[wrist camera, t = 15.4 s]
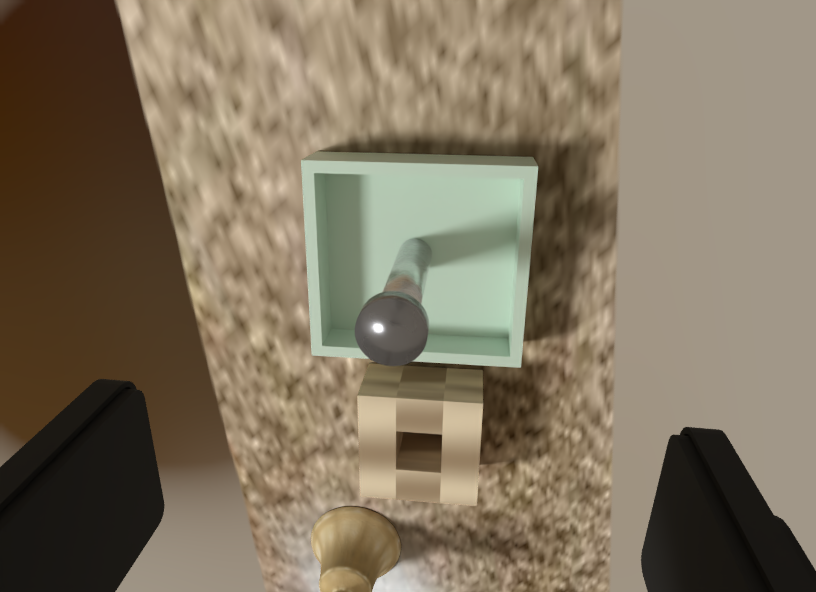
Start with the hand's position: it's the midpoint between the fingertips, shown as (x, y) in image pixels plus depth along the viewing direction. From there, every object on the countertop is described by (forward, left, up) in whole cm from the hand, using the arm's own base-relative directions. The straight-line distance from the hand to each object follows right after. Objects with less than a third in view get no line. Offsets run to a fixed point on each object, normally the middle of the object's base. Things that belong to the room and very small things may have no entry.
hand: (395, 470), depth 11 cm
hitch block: (+20, -2, -34) cm, 39 cm away
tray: (+6, -2, -34) cm, 34 cm away
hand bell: (+34, -8, -34) cm, 49 cm away
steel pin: (+6, -3, -33) cm, 33 cm away
